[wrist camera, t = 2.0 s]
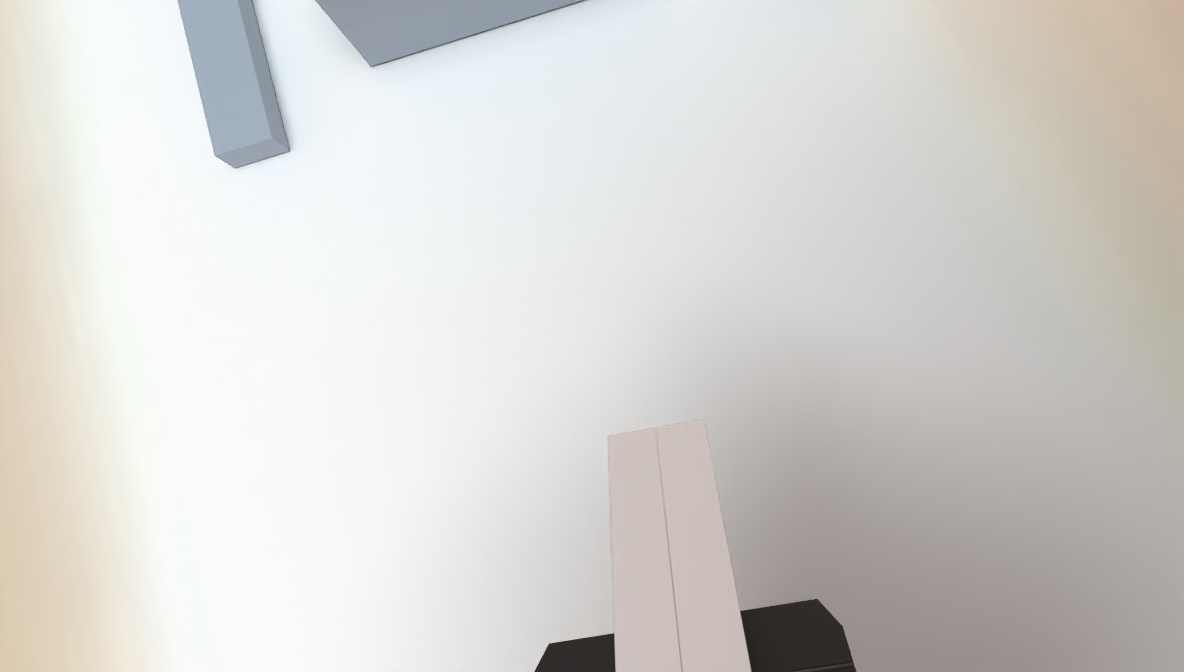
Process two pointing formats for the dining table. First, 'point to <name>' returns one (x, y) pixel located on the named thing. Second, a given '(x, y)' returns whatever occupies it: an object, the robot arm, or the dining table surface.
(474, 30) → the slide jaw
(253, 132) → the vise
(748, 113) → the dining table surface
